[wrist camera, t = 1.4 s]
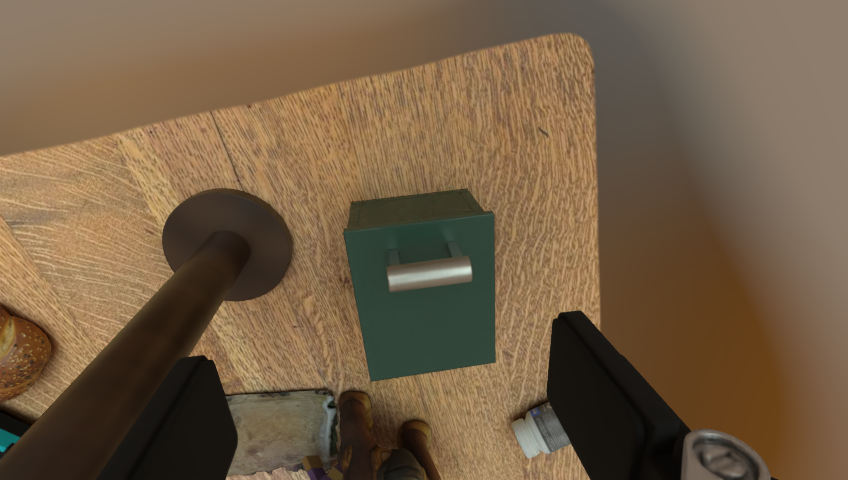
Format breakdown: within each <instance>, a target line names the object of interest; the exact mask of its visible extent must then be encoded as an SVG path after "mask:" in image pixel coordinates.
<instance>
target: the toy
mask: <svg viewBox="0 0 848 480" xmlns="http://www.w3.org/2000/svg"><path fill="white" fill-rule="evenodd" d="M30 427H31V426H29V425H27V424H24V423H22V422H20V421H18V420H16V419H14V418H11V417H9V416H7V415H5V414H3V413H0V459H1V458H2V457H3V456H4V455H5V454H6V453H7V452H8V451H9V450H10V449H11V448H12V447H13V445H14V444H15V443H16V442H17V441H18V440H19V439H20V438H21V437H22V436H23V435H24V434H25V433H26V432H27V430H28V429H29V428H30Z"/></svg>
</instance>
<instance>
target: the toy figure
mask: <svg viewBox="0 0 848 480" xmlns="http://www.w3.org/2000/svg"><path fill="white" fill-rule="evenodd" d="M302 463H303V466H304V468H305V470H306V472H307V474H308V475H309V477H310V479H311V480H343V470H342V464H341V462H340V463H338V464H337V465H336V466H335V467H333V468H332V469H331V470H330V471H329V472H328V473H326V472H325V471H324V469H323V467H324V465H323V463H322V461H321V459H320V457H319V455H309V456H305V457H304V458H303V459H302Z"/></svg>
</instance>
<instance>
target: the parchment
mask: <svg viewBox="0 0 848 480" xmlns="http://www.w3.org/2000/svg"><path fill="white" fill-rule="evenodd" d="M226 399H227V402H228V405H229V408H230V411H231V415H232V418H233V421H234V424H235V427H236V430H237V433H238V445H237V449H236V452H235V455H234V457H233V460H232V463H231V466H230V468H229V471H228V474H227V477H228V476H233V475H253V474H255V473H256V472H262V471H265V472H267V473H269V474H272V470H274V469H277V468H280V467H285V468H286V470H289V471H294V472H298V470H299V469H302V470H305V468H304V466H303V463H302V459H303V458H304V457H305V456H309V455H319V457H320V459H321V461H322V463H323V465H324V467H323V469H324V471H325V472H326V471H328V470H331V469H332V467H331V462H332V461H333V460H337V461H338V462H339V463H340V459H339V456H338V454H337V451H336V447H335V442H337V437H336V432H335V426H336V425H337V424H338V423H337V419H336V414H337V410H336V407H335V406H334V402H333V399H335V398H333V397H332V396H330V395H329V393H328V392H327V390H323V391H321V390H316V391H298V392H283V393H274V394H273V393H268V394H266V393H263V394H249V395H233V396H226Z"/></svg>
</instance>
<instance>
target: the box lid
mask: <svg viewBox="0 0 848 480" xmlns="http://www.w3.org/2000/svg"><path fill="white" fill-rule="evenodd" d="M343 233H344V239H345V244H346V250H347V255H348V261H349V266H350V272H351V277H352V283H353V288H354V294H355V299H356V305H357V310H358V315H359V321H360V326H361V332H362V337H363V343H364V348H365V354H366V359H367V365H368V370H369V376H370V381H378V380H384V379H391V378H398V377H404V376H411V375H417V374H424V373H430V372H437V371H444V370H450V369H457V368H463V367H470V366H476V365H483V364H490V363H495V362H496V357H495V241H494V213H493V212H492V211H483V212H475V213H467V214H459V215H451V216H442V217H434V218H426V219H418V220H410V221H401V222H393V223H385V224H377V225H369V226H360V227H352V228H345V229H344V232H343Z"/></svg>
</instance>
